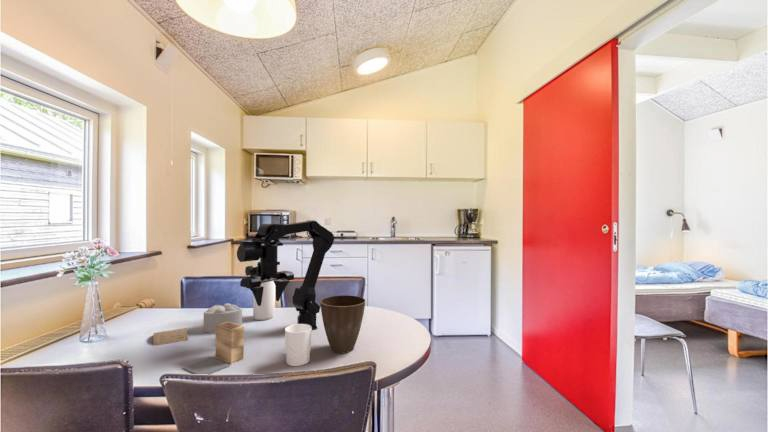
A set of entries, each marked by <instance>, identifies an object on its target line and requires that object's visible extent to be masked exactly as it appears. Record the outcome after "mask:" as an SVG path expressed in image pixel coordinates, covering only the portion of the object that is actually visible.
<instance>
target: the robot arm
mask: <svg viewBox="0 0 768 432" xmlns="http://www.w3.org/2000/svg"><path fill="white" fill-rule="evenodd" d="M303 232H308V235H309V236H310V237H311V238H312V242H311V243H312V249H313V251H312V253H311V258H310V261H309V264H308V266H307V270H306V272H305V276H304V280H303V282H302V284H301V285H300V286H299V288H298V287H296V288H295V289H294V293H293V296H292V297H291V298H292V305H293V306H294V308H295V311H296V312H298V315H297V318H296V319H297V323H296V324H308V325H310V326H312V330H317V329H318V326H317V314H318V313H320V312H321V311H320V310H321V305H319V304H318V303H317V302H316V299H317V298H316V296H317V294H316V284H317V282H318V278H319V274H320V272H321V268H322V265H323V263H324V262H323V261H324V259H325V256H326V253H327V252H328V251H329V250H330V249H331V248H332V247H333V244H334V241H335V236H334V234H333V232H332V231H329V229H327V228H326V227H324V226H322V225H321V224H320V223H319V222H318V221H317V220H314V219H313V220H310V219H309V220H306V221H299V222H298V221H297V222H291V223H284V224H283V223H281V224H279V223H262V224H260V225H259V227H258V229H257V232H256V233H255V235H254V237H253V238H252V239H251V240H250V241H249V240H248V241H246V240H241V241H240V242H239V243H240V245H239V246H238V247H237V250H236V258H237V260H238V261H239V262H240V263H244V262H254V261H257V263H256V264H257V265H256V266H255V267H254V266H253V265H248V266H245V271H244V272H245V276H247V277H242V278H241V280H240V283H239V284H240V285H239V286H240V287H243V288H246V289H249V290H250V291H251V293H252V294H254V297H255V299H256V302H257V305H258V306H261V302H262V296H263V288H264V287H262V286H261V283H264V282H269V281H274V283H275V302H279V301H280V300H281V297H282V295H283V293H284V291H285V289H286V288H287V286H288V284H290V283H291V281H293V280H295V273H293V271H289V270H282V271H278V266H280V264H281V261H278V247H281V246H284V243H283V242H281V240H280V239H282V238H283V237H285V236H288V235H292V234H297V233H298V234H299V233H303ZM258 277H260V278H258ZM265 279H266V280H265Z"/></svg>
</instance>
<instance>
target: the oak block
mask: <svg viewBox="0 0 768 432" xmlns="http://www.w3.org/2000/svg"><path fill="white" fill-rule="evenodd" d="M244 345H245V326H244V325H242V326H241V325H238V324H234V323H231V322H226V323H222V324H219V325H216V333H215V359H217V358H218V359H217V360H219V361H222V360H223V361H222V362H224V361H225V362H224V363H227V362H228V363H227V364H229V363H230V364H229V365H232V363H233V364H235V362H236V363H239V362H240V361H243V360H244V355H245V354H244V350H245V349H244V348H245V347H244Z"/></svg>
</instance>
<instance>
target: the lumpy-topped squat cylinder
mask: <svg viewBox="0 0 768 432" xmlns="http://www.w3.org/2000/svg"><path fill="white" fill-rule="evenodd" d="M226 322H231V323H234V324H238V325H241V326H243V308H242V307H240V306H237V305H236V304H232V303H228V302H226V303H223V304H222V305H220V304H214V305H213V306H211V307H210V308H208V309H207V310H205V311H204V312H203V329H202V331H203V332H204V333H207V332H210V333H211V334H212V333H215V334H216V325H219V324H222V323H226Z"/></svg>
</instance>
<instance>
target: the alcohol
mask: <svg viewBox="0 0 768 432" xmlns="http://www.w3.org/2000/svg"><path fill="white" fill-rule="evenodd" d="M258 278H260V277H258ZM265 280H266V279H265ZM261 286H262V287H264V288H263V296H262V302H261V306H258V305H257V302H256V299H255V297H254V294H253V293H252V294H253V301H252V303H253V306H252V307H253V309H252V313H253V314H252V316H253V319H254V320H257V321H268V320H272V319H273V318H274V317H275V315H276V286H275V283H274V281H269V282H264V283H261Z"/></svg>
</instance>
